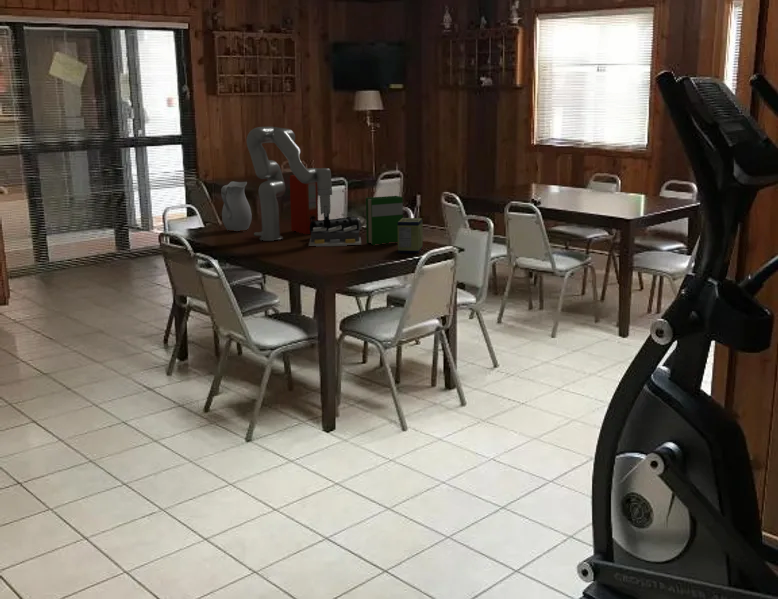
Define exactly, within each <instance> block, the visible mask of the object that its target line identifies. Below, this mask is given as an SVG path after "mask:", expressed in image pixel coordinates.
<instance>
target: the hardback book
mask: <svg viewBox="0 0 778 599" xmlns="http://www.w3.org/2000/svg"><path fill="white" fill-rule="evenodd" d="M403 198H404V197H403V196H400V195H399V196H398V195H391V196H390V195H387V196H375V197H374V196H372V197H365V221H366V222H365V223H366V224H365V226H366V227H365V228H366V230H365V232H366V234H365V235H366V244H367V243H371V244H370V245H371V246H372V245H375V244H382V243H389V242H398V221H400V220H401V219H402V218H404V213H403V212H404V209H403V208H404V203H403V200H404V199H403Z"/></svg>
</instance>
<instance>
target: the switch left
mask: <svg viewBox="0 0 778 599" xmlns="http://www.w3.org/2000/svg"><path fill="white" fill-rule="evenodd" d="M313 231H326V228H324V227H316V228H313Z"/></svg>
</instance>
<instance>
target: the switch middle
mask: <svg viewBox="0 0 778 599" xmlns="http://www.w3.org/2000/svg"><path fill="white" fill-rule="evenodd" d="M340 229H342V227H341V225H340V226H336V227H333V228H329V229H328V231H329V232H333V231H336V230H340Z"/></svg>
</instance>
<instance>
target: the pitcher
mask: <svg viewBox="0 0 778 599" xmlns="http://www.w3.org/2000/svg"><path fill="white" fill-rule="evenodd" d="M247 184H248V182H247V181H230V182H229V183H228V184H226V185H223V186H222V187H221V189H220V190H221V191H220V195H221V199H222V202H223V206H222V210H221V218H222V219H221V220H222V223H223V226H224V227H225V229H226V230H227V231H228V230H234V231H240V230H247V229H248V230H249V228H250V225H251V223H252V219H253V217H252V208H251V206H250V203H249V201H248V199H247V197H246V194H245V189H246V187H247ZM248 230H247V231H248Z"/></svg>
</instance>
